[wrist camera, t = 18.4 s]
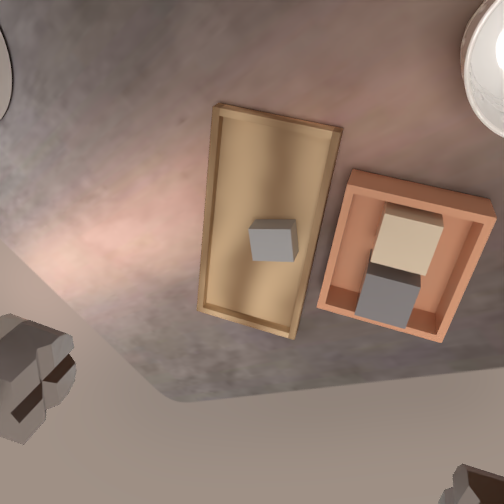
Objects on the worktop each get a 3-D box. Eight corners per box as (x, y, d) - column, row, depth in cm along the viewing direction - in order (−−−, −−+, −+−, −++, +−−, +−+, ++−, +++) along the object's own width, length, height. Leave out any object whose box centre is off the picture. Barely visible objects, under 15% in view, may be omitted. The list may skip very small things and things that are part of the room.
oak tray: (202, 302, 47) (196, 310, 46) (219, 102, 37) (212, 106, 36) (297, 331, 45) (294, 339, 44) (343, 128, 35) (340, 132, 34)
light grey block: (259, 250, 41) (252, 260, 40) (255, 219, 40) (248, 228, 38) (298, 251, 40) (293, 262, 39) (295, 219, 39) (290, 229, 37)
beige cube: (374, 238, 38) (370, 261, 34) (387, 192, 36) (384, 213, 32) (424, 250, 37) (425, 276, 34) (441, 205, 35) (443, 227, 31)
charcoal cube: (359, 288, 40) (354, 315, 37) (370, 249, 38) (366, 273, 35) (406, 300, 39) (405, 329, 36) (420, 261, 37) (420, 287, 34)
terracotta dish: (323, 285, 42) (316, 307, 39) (352, 168, 36) (347, 184, 33) (439, 317, 40) (441, 342, 37) (490, 199, 34) (496, 218, 31)
